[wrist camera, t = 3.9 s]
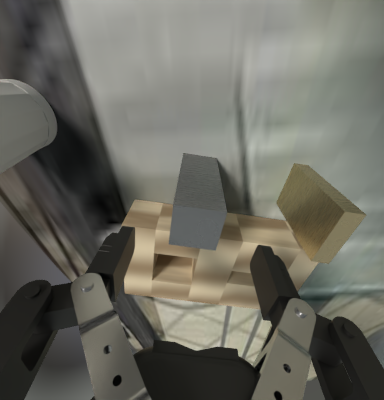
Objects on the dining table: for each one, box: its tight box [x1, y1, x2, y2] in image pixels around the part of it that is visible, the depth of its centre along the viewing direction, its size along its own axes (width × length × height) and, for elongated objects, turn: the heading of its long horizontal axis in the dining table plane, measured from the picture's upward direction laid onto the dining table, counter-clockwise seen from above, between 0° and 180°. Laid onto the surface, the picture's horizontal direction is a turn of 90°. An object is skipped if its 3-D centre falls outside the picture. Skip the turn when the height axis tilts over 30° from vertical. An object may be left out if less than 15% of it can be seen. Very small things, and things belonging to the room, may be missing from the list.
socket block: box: [122, 199, 319, 309], centre depth 27 cm, size 12×22×5 cm, turn 81°
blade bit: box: [277, 163, 366, 264], centre depth 19 cm, size 5×2×9 cm, turn 171°
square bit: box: [169, 153, 227, 251], centre depth 18 cm, size 4×4×10 cm
